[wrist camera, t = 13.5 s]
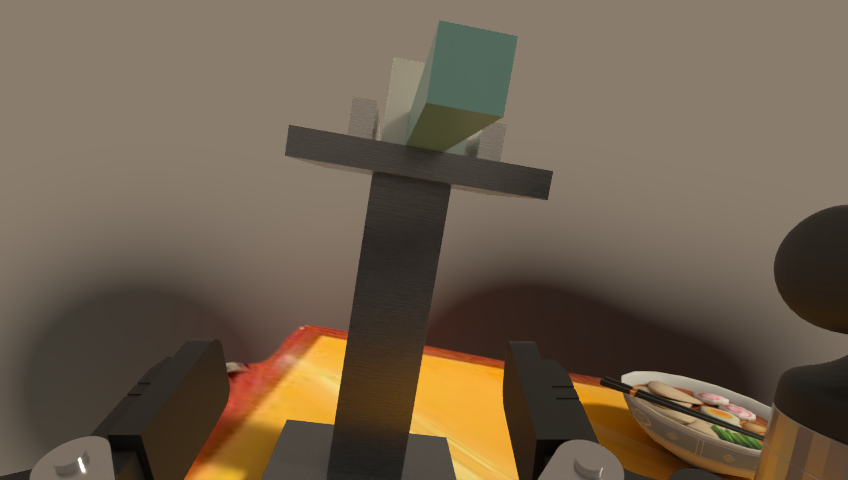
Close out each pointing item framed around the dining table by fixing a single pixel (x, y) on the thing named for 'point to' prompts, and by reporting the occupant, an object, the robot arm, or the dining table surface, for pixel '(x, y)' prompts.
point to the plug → (450, 89)
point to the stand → (391, 297)
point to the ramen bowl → (697, 420)
